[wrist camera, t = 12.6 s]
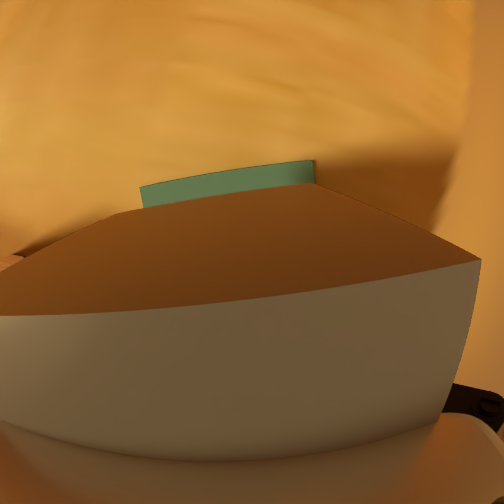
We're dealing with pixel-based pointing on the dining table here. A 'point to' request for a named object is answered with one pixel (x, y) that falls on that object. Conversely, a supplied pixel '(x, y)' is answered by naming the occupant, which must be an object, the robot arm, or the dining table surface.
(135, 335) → the grey rectangular box
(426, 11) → the dining table surface
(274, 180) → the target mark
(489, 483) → the robot arm
